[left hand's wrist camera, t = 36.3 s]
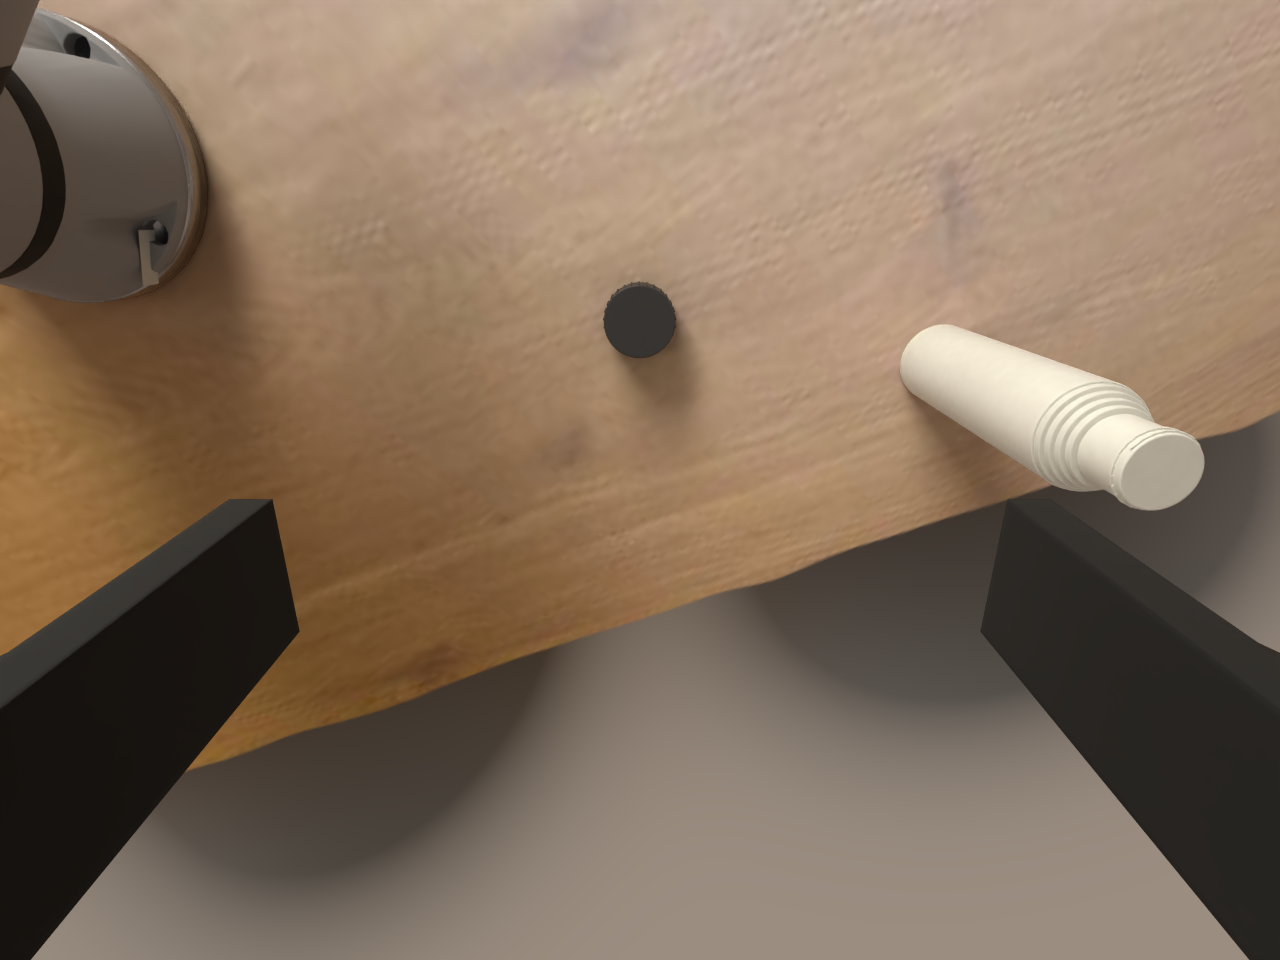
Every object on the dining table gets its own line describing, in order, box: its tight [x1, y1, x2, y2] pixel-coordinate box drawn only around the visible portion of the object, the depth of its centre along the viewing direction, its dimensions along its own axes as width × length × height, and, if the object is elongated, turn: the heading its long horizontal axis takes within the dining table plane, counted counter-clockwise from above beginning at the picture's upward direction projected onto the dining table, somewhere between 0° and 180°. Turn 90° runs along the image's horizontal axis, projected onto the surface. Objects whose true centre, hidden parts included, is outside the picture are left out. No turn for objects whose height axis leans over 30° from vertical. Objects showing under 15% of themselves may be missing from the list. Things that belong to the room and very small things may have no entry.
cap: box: [603, 282, 676, 358], centre depth 43 cm, size 4×4×2 cm
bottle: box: [900, 324, 1204, 510], centre depth 35 cm, size 5×5×21 cm
